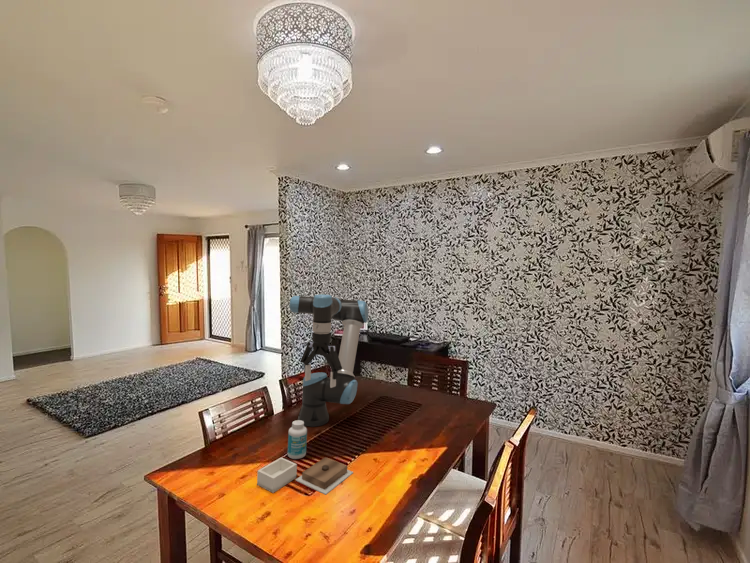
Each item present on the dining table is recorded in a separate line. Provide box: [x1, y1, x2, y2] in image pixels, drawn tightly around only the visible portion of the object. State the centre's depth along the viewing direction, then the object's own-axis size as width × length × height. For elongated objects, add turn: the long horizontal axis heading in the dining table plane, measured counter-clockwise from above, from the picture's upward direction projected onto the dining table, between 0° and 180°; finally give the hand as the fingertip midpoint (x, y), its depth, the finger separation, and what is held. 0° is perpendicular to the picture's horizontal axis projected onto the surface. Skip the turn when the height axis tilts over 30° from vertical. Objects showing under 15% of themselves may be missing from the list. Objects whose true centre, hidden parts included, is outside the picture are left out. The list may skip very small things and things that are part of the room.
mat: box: [295, 469, 354, 495], centre depth 132 cm, size 14×16×1 cm
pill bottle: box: [287, 419, 308, 460], centre depth 146 cm, size 8×7×14 cm
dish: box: [256, 456, 298, 494], centre depth 128 cm, size 8×11×5 cm
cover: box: [301, 456, 348, 490], centre depth 132 cm, size 10×13×3 cm
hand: (320, 383), depth 149 cm, fingers open, 13 cm apart
